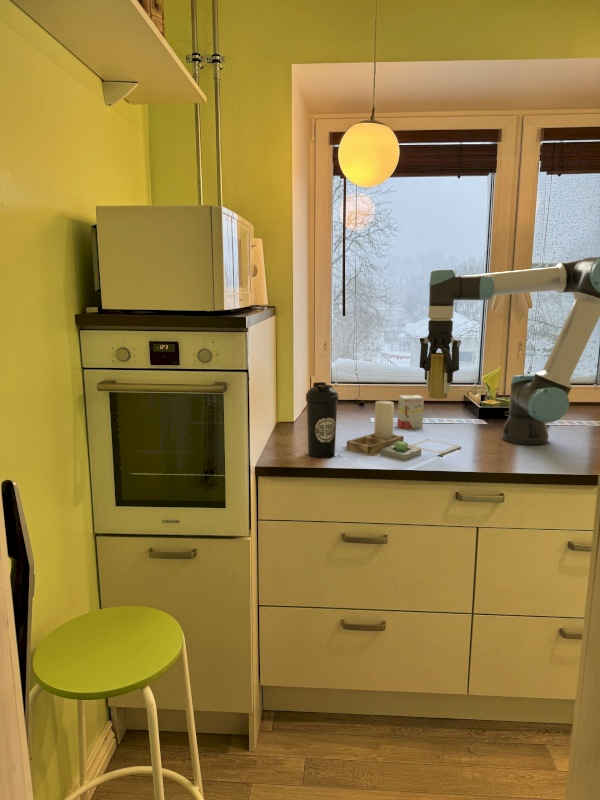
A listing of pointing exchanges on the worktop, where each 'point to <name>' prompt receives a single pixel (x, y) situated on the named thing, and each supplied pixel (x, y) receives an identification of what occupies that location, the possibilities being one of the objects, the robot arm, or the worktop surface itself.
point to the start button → (401, 446)
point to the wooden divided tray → (371, 444)
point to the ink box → (410, 411)
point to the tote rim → (441, 451)
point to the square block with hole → (400, 452)
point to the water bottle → (321, 420)
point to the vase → (437, 376)
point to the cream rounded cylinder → (384, 420)
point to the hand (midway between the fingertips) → (438, 391)
